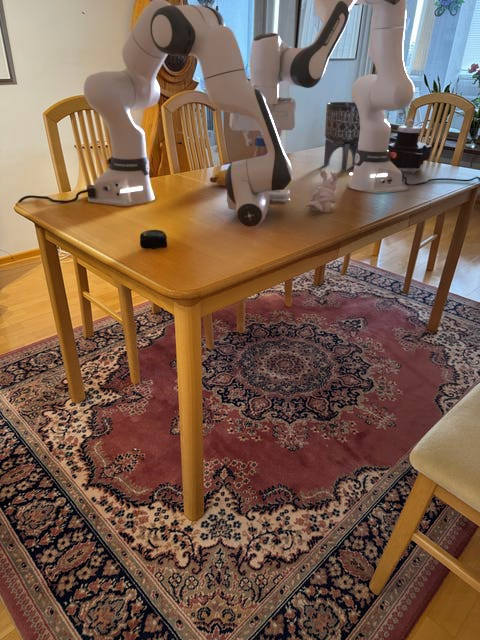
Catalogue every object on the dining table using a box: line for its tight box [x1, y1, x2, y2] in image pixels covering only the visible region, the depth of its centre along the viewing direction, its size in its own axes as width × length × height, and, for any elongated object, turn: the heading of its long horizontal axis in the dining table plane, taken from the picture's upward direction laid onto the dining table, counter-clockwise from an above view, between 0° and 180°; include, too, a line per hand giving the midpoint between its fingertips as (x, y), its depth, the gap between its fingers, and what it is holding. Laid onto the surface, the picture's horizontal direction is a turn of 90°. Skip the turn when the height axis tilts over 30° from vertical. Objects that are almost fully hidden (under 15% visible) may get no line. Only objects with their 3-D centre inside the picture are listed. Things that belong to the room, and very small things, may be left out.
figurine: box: [305, 168, 338, 213], centre depth 146 cm, size 8×15×13 cm, turn 145°
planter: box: [323, 101, 360, 172], centre depth 204 cm, size 20×20×26 cm
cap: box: [254, 135, 266, 147], centre depth 142 cm, size 4×5×2 cm
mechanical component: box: [388, 119, 433, 174], centre depth 204 cm, size 22×21×30 cm
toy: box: [209, 168, 228, 188], centre depth 176 cm, size 11×6×15 cm
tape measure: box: [139, 229, 168, 250], centre depth 117 cm, size 7×7×4 cm
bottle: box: [252, 146, 268, 158], centre depth 147 cm, size 5×5×21 cm
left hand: (260, 189), depth 150 cm, fingers closed on bottle, 5 cm apart
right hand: (261, 145), depth 143 cm, fingers open, 7 cm apart
